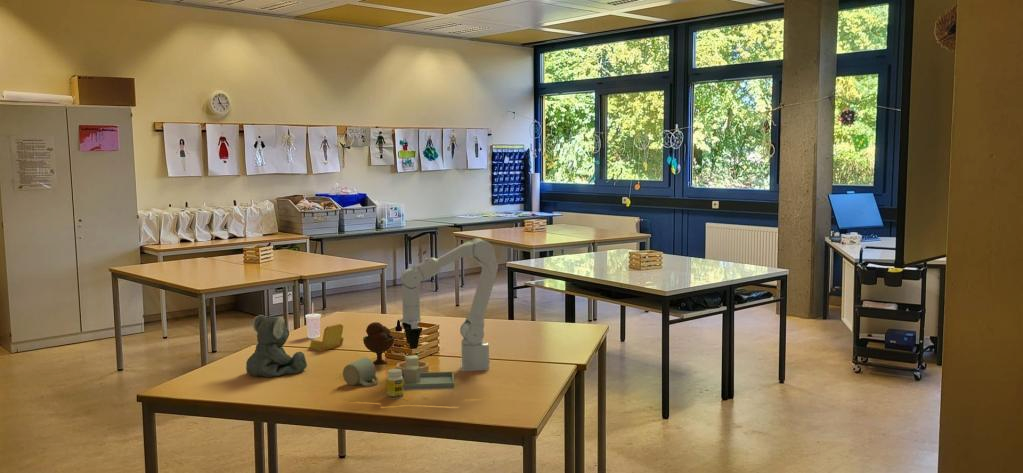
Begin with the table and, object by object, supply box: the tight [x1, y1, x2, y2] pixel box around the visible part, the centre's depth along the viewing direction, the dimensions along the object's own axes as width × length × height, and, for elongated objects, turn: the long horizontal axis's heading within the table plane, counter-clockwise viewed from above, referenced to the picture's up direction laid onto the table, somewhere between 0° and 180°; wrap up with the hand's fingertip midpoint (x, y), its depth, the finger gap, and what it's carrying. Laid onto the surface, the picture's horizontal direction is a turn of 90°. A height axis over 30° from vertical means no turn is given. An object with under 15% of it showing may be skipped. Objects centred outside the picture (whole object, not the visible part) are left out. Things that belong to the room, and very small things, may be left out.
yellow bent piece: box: [309, 323, 345, 351], centre depth 298 cm, size 10×10×9 cm
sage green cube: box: [404, 354, 420, 368], centre depth 260 cm, size 4×4×5 cm
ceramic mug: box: [342, 357, 379, 387], centre depth 248 cm, size 11×8×8 cm
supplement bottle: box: [386, 368, 404, 400], centre depth 234 cm, size 5×5×8 cm
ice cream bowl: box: [362, 321, 395, 366], centre depth 272 cm, size 11×11×15 cm
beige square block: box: [404, 366, 420, 384], centre depth 247 cm, size 4×4×5 cm
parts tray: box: [401, 371, 455, 392], centre depth 249 cm, size 17×17×2 cm
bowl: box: [395, 360, 430, 373], centre depth 260 cm, size 11×11×3 cm
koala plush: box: [245, 314, 308, 378], centre depth 263 cm, size 17×18×20 cm
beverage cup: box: [305, 302, 322, 339], centre depth 314 cm, size 6×6×14 cm
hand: (412, 345), depth 260 cm, fingers open, 7 cm apart
